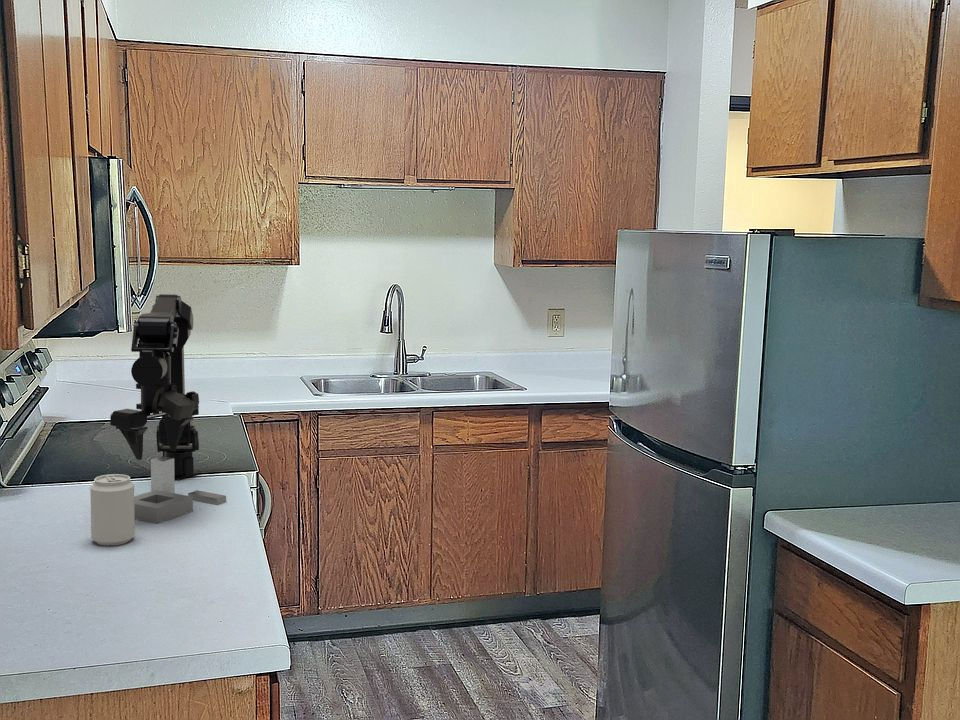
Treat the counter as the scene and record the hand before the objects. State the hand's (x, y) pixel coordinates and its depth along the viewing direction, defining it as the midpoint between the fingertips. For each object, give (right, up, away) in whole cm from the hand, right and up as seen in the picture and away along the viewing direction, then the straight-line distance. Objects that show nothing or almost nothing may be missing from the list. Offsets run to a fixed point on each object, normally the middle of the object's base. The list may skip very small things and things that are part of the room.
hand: (156, 455), depth 194 cm
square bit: (-4, -10, +15) cm, 19 cm away
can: (-3, -14, -16) cm, 22 cm away
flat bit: (+7, -11, +12) cm, 18 cm away
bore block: (0, -12, +2) cm, 12 cm away
